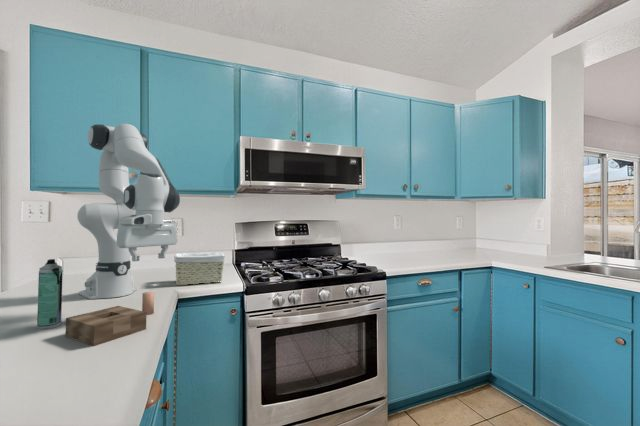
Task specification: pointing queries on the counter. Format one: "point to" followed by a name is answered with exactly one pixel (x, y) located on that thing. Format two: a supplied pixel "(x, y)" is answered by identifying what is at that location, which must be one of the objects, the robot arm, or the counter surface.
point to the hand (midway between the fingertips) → (149, 259)
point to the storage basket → (198, 267)
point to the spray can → (49, 295)
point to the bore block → (105, 324)
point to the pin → (148, 303)
